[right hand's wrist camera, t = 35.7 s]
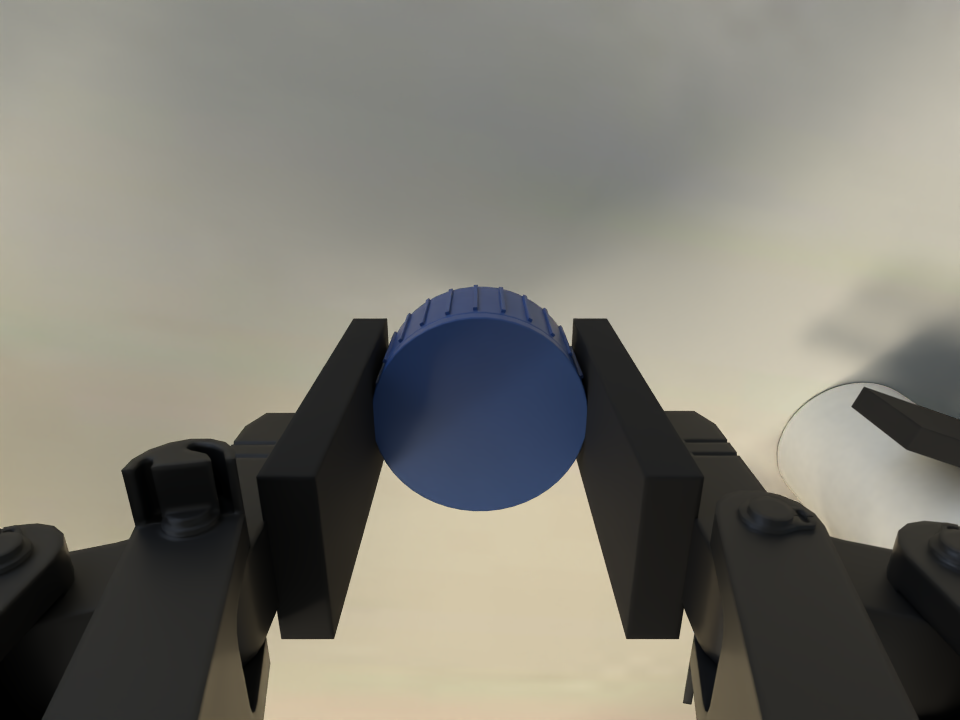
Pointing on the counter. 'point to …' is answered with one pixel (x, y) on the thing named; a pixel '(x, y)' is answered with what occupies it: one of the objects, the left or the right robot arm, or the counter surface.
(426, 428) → the cap
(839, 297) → the counter surface
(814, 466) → the bottle
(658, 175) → the counter surface
